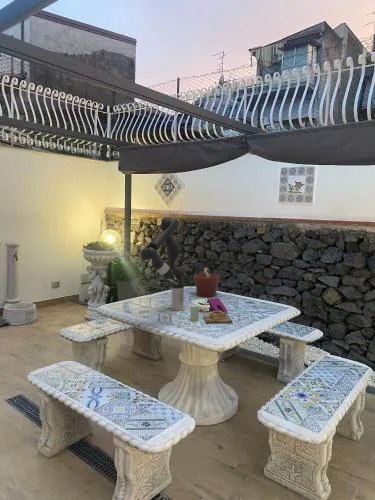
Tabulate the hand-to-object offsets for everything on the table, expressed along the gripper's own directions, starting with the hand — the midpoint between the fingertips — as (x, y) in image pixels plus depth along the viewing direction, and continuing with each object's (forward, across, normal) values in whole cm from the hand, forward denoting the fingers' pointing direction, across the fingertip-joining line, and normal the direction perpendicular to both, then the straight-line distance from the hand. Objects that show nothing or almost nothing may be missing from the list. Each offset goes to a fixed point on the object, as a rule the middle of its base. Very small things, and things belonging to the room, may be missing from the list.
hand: (179, 285), depth 254 cm
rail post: (+25, -2, +10) cm, 27 cm away
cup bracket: (+35, -9, 0) cm, 37 cm away
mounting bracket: (+43, +8, -8) cm, 44 cm away
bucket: (+56, +58, -22) cm, 84 cm away
